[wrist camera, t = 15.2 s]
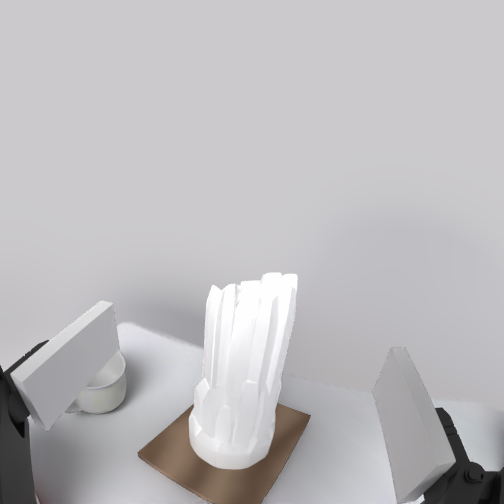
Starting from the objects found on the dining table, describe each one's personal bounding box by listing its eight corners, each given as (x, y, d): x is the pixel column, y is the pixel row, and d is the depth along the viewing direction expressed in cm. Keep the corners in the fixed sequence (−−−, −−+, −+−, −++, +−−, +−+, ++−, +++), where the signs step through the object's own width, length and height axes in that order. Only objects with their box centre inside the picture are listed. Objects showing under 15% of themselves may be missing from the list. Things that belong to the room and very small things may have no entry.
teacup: (98, 367, 42) (91, 330, 40) (145, 395, 39) (140, 358, 37) (42, 407, 30) (26, 369, 27) (88, 448, 26) (71, 411, 24)
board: (308, 420, 38) (310, 415, 38) (248, 520, 21) (250, 518, 21) (220, 383, 45) (220, 378, 45) (138, 456, 28) (137, 452, 27)
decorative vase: (173, 437, 31) (166, 259, 24) (223, 400, 40) (241, 241, 32) (239, 484, 25) (278, 307, 18) (285, 434, 34) (332, 269, 27)
